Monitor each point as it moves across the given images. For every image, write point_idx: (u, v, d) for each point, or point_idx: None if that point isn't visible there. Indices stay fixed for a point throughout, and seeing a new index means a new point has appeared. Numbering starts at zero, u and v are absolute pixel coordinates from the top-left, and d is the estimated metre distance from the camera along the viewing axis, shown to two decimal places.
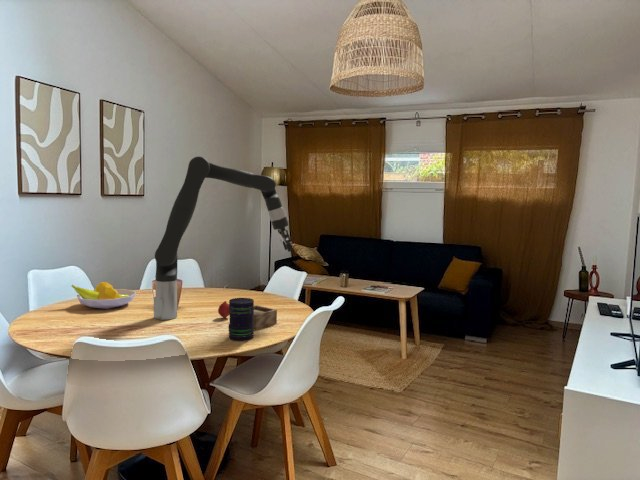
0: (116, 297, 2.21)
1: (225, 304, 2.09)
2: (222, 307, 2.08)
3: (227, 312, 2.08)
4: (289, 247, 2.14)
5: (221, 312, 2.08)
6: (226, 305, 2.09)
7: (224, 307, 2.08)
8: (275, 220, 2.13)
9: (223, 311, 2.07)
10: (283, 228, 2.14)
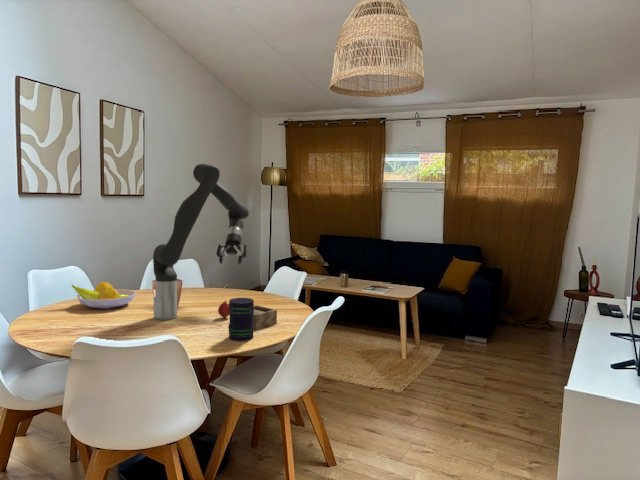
0: (116, 297, 2.21)
1: (225, 304, 2.09)
2: (222, 307, 2.08)
3: (227, 312, 2.08)
4: (241, 260, 2.21)
5: (221, 312, 2.08)
6: (226, 305, 2.09)
7: (224, 307, 2.08)
8: (240, 235, 2.29)
9: (223, 311, 2.07)
10: (240, 245, 2.27)
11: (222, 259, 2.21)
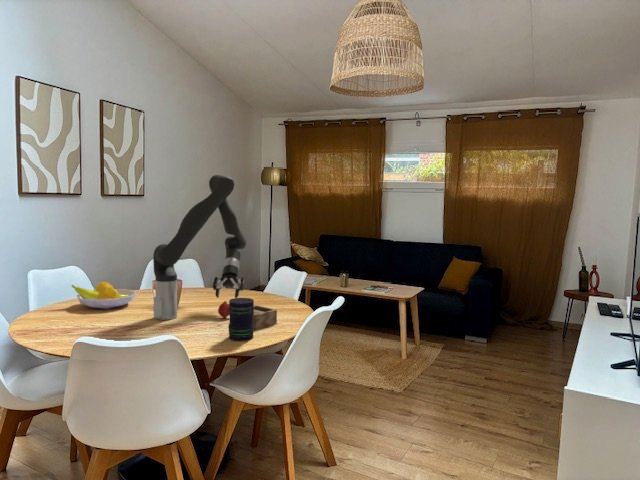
0: (116, 297, 2.21)
1: (225, 304, 2.09)
2: (222, 307, 2.08)
3: (227, 312, 2.08)
4: (238, 293, 2.15)
5: (221, 312, 2.08)
6: (226, 305, 2.09)
7: (224, 307, 2.08)
8: (237, 267, 2.23)
9: (223, 311, 2.07)
10: (237, 277, 2.21)
11: (218, 292, 2.15)
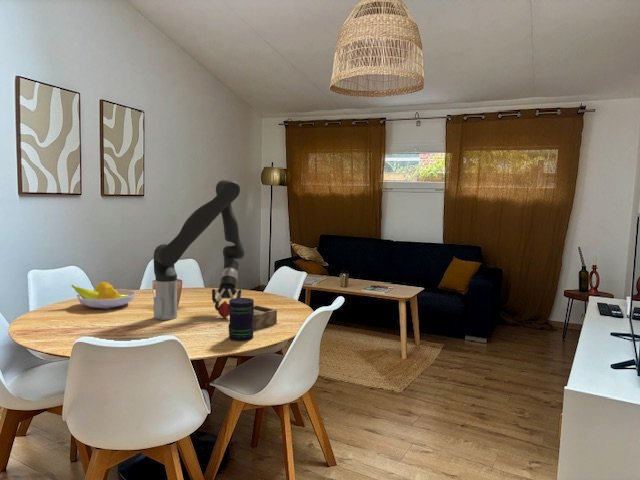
0: (116, 297, 2.21)
1: (225, 304, 2.09)
2: (222, 307, 2.08)
3: (227, 312, 2.08)
4: None
5: (221, 312, 2.08)
6: (226, 305, 2.09)
7: (224, 307, 2.08)
8: (235, 277, 2.17)
9: (223, 311, 2.07)
10: (235, 288, 2.16)
11: (218, 305, 2.10)
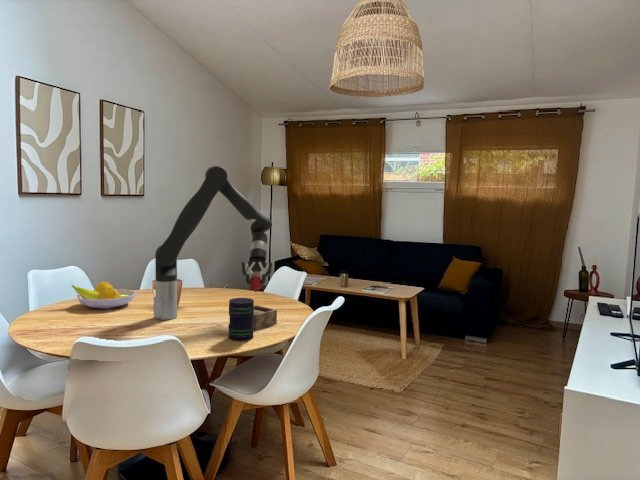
0: (116, 297, 2.21)
1: (256, 277, 2.00)
2: (253, 280, 1.99)
3: (259, 285, 2.00)
4: (265, 279, 2.01)
5: (252, 285, 1.99)
6: (257, 278, 2.00)
7: (255, 280, 1.99)
8: (265, 250, 2.09)
9: (254, 284, 1.99)
10: (265, 261, 2.08)
11: (249, 278, 2.01)
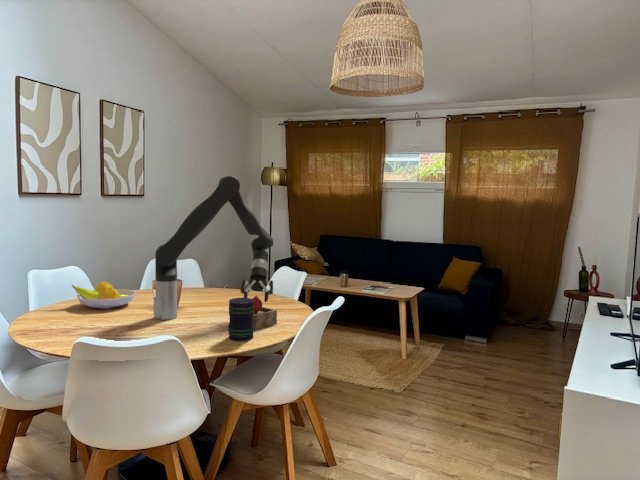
0: (116, 297, 2.21)
1: (256, 299, 2.01)
2: (254, 302, 2.00)
3: (258, 307, 2.00)
4: (267, 297, 2.02)
5: None
6: (257, 300, 2.01)
7: (255, 302, 2.00)
8: (265, 269, 2.09)
9: (254, 306, 1.99)
10: None
11: (247, 296, 2.02)
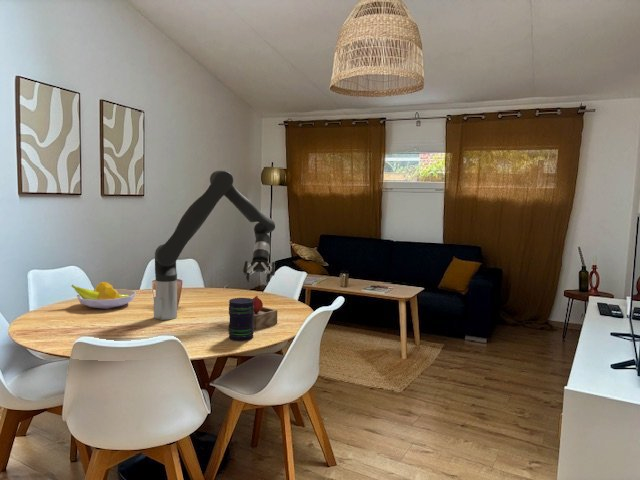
0: (116, 297, 2.21)
1: (257, 299, 2.00)
2: (254, 302, 1.99)
3: (259, 307, 2.00)
4: (269, 278, 2.07)
5: None
6: (258, 300, 2.00)
7: (256, 302, 1.99)
8: (267, 251, 2.15)
9: (254, 306, 1.99)
10: None
11: (249, 277, 2.08)
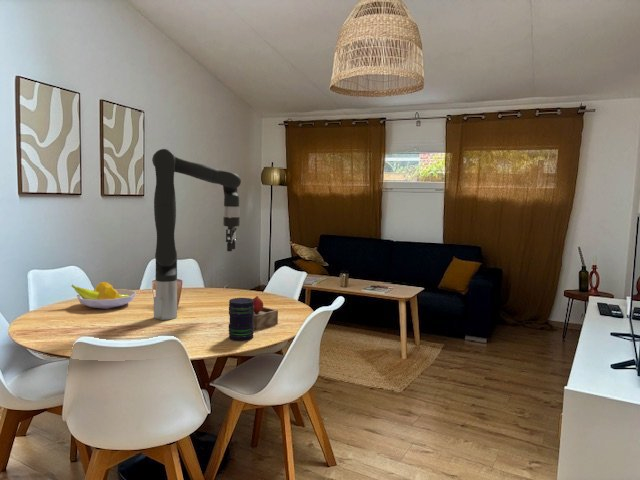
0: (116, 297, 2.21)
1: (257, 299, 2.00)
2: (254, 302, 1.99)
3: (259, 307, 1.99)
4: (229, 247, 2.13)
5: None
6: (258, 300, 2.00)
7: (256, 302, 1.99)
8: (226, 217, 2.14)
9: (255, 306, 1.99)
10: (230, 227, 2.14)
11: (232, 244, 2.22)
